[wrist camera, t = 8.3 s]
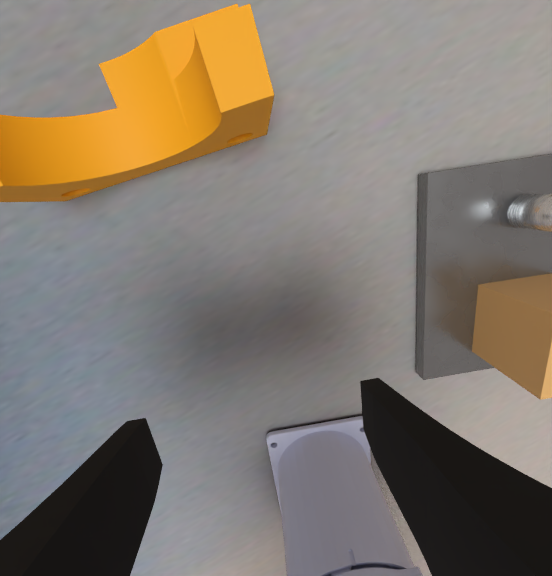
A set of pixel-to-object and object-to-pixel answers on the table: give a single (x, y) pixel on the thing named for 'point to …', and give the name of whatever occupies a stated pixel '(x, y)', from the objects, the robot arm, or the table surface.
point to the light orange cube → (517, 330)
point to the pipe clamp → (147, 112)
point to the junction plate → (475, 250)
